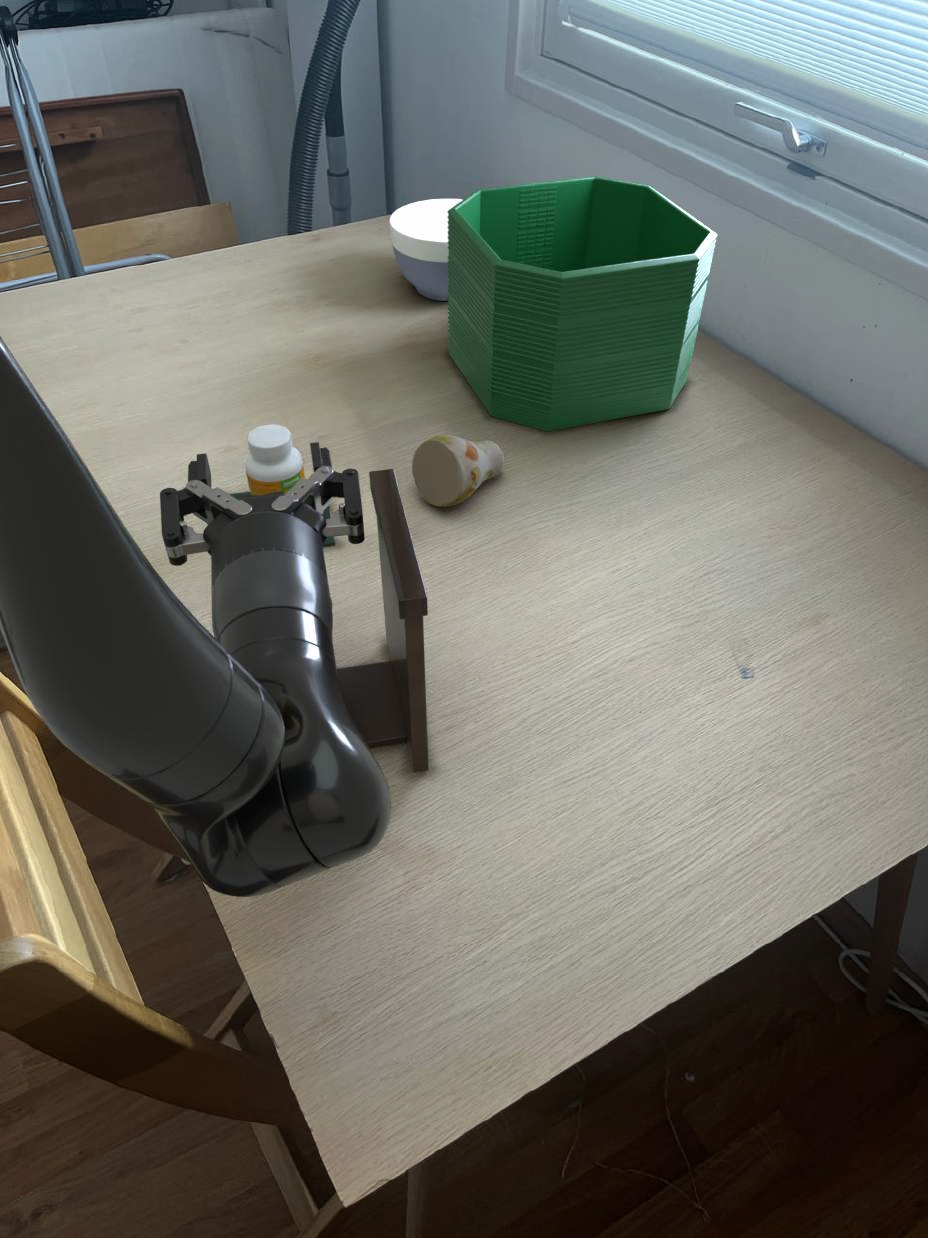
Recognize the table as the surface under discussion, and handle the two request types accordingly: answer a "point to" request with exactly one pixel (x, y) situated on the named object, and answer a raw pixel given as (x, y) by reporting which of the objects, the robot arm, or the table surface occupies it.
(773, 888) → the table surface
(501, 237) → the planter
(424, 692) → the stand
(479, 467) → the fruit print bud vase
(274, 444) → the supplement bottle
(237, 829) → the robot arm
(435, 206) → the bowl
